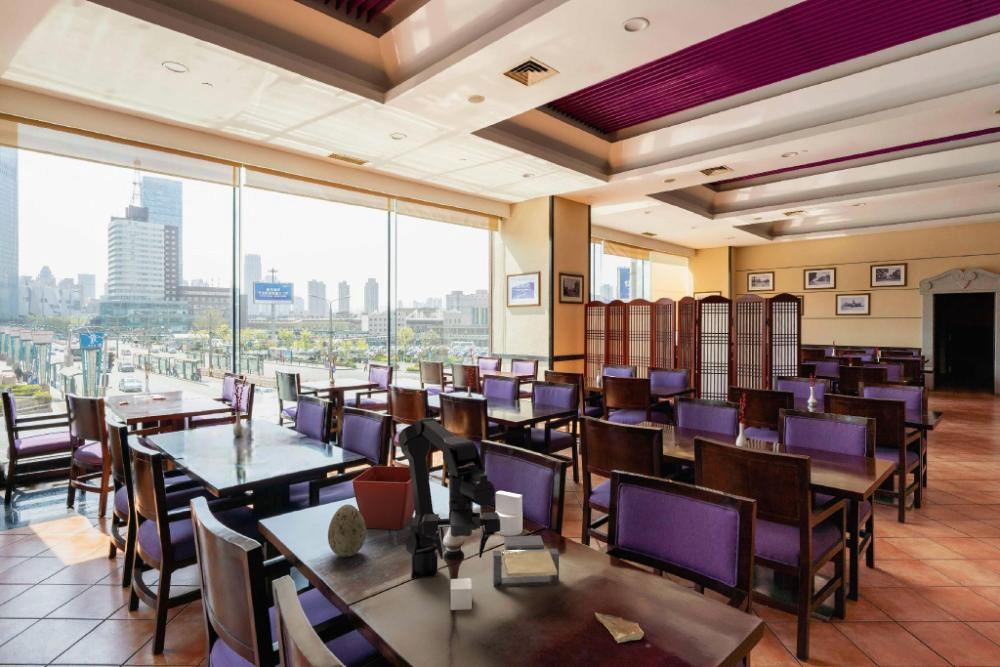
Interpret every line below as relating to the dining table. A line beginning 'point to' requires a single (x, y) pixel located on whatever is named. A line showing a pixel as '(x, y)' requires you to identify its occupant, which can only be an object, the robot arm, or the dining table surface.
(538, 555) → the trapdoor
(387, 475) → the plant pot
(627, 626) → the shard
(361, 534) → the decorative egg
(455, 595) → the cube
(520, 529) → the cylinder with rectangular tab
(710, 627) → the dining table surface
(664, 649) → the dining table surface
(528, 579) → the frame
